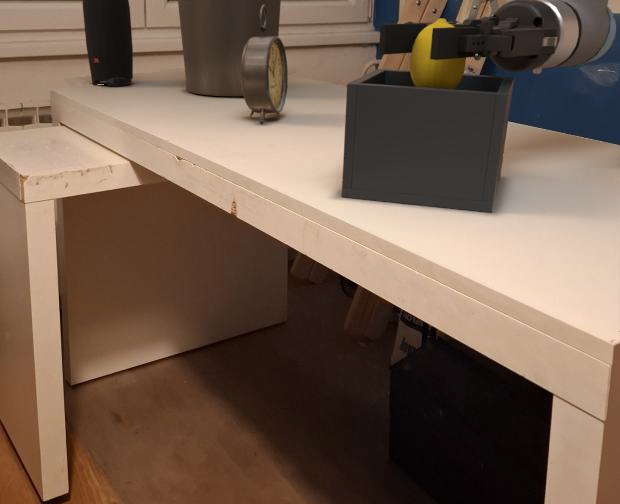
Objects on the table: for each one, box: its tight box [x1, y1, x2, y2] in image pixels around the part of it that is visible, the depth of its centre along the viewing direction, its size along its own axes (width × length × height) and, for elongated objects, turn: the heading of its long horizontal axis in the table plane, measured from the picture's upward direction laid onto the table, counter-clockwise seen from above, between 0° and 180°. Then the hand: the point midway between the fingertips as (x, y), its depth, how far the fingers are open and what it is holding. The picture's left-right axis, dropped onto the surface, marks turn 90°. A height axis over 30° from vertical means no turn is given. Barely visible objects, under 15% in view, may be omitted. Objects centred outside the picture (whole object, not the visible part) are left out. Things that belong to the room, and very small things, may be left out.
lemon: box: [409, 18, 467, 89], centre depth 76 cm, size 6×6×8 cm
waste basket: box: [177, 0, 282, 97], centre depth 138 cm, size 27×20×30 cm
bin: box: [341, 68, 515, 213], centre depth 79 cm, size 15×15×11 cm
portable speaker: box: [82, 0, 134, 87], centre depth 144 cm, size 9×9×20 cm
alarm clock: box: [240, 5, 289, 125], centre depth 114 cm, size 11×5×16 cm, turn 166°
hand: (408, 41), depth 72 cm, fingers closed on lemon, 5 cm apart
